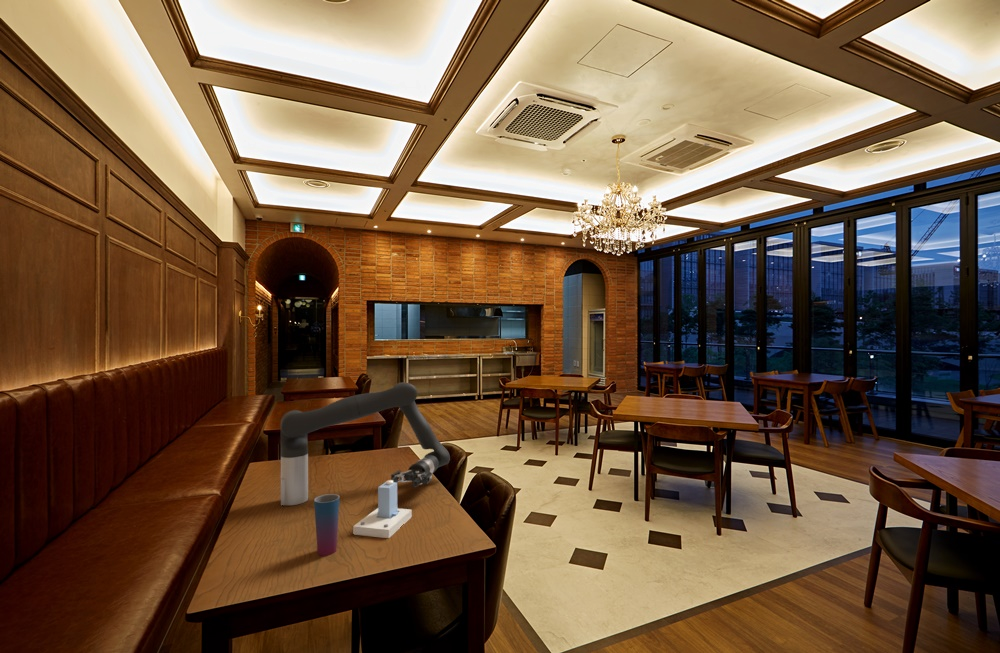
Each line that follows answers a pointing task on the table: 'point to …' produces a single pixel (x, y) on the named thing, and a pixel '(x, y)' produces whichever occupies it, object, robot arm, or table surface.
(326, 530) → the cup
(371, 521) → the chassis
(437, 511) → the table surface
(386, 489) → the block
